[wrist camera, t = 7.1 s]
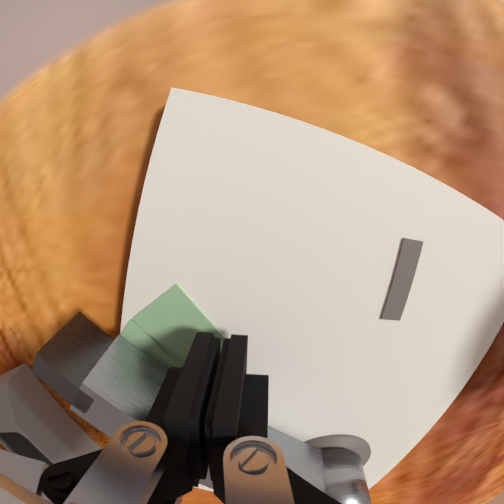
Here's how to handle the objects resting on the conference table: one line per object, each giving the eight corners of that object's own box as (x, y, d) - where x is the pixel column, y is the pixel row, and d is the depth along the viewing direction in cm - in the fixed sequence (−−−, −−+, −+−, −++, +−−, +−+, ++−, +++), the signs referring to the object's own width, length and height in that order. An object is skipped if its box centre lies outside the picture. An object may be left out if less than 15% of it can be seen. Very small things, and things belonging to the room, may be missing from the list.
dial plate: (347, 492, 16) (349, 507, 14) (109, 442, 15) (102, 457, 14) (521, 237, 10) (539, 245, 9) (156, 89, 9) (141, 81, 8)
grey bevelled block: (-3, 392, 11) (155, 528, 14) (29, 359, 14) (165, 493, 18) (-37, 403, 12) (84, 517, 16) (-14, 380, 16) (95, 491, 19)
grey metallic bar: (373, 457, 12) (388, 512, 9) (324, 486, 13) (330, 537, 10) (89, 291, 10) (30, 342, 6) (64, 346, 11) (18, 397, 7)
